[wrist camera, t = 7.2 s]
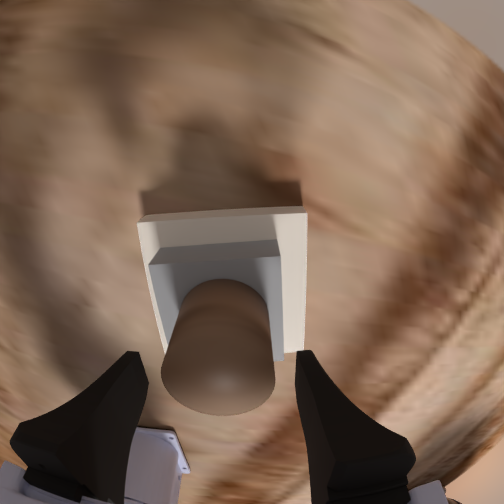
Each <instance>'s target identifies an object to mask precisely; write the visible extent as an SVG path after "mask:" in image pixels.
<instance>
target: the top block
mask: <svg viewBox="0 0 504 504" xmlns="http://www.w3.org/2000/svg"><path fill="white" fill-rule="evenodd" d="M148 267H149V271H150V276H151V280H152V285H153V289H154V293H155V298H156V302H157V306H158V310H159V314H160V318H161V322H162V325H163V329H164V333H165V337H166V340H167V344H168V345H169V341H170V338H171V335H172V332H173V329H174V326H175V323H176V320H177V317H178V314H179V311H180V308H181V305H182V302H183V300H184V298H185V296H186V295H187V293H188V292H189V291H190V290H191V289H193V288H194V287H195V286H197V285H199V284H201V283H203V282H205V281H209V280H213V279H231V280H236V281H239V282H242V283H244V284H246V285H248V286H250V287H252V288H253V289H254V290H256V291H257V292H258V293H259V294H260V295H261V296H262V298H263V299H264V301H265V303H266V305H267V308H268V312H269V320H270V330H271V340H272V350H273V360H274V361H284V336H283V302H282V274H281V255H280V250H279V245H278V241H277V239H275V240H261V241H246V242H232V243H218V244H204V245H191V246H178V247H164V248H160V249H159V250H158V252H157V253H156V254H155V256H154V257H153V259H152V260H151V262H150V263H149V264H148Z"/></svg>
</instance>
